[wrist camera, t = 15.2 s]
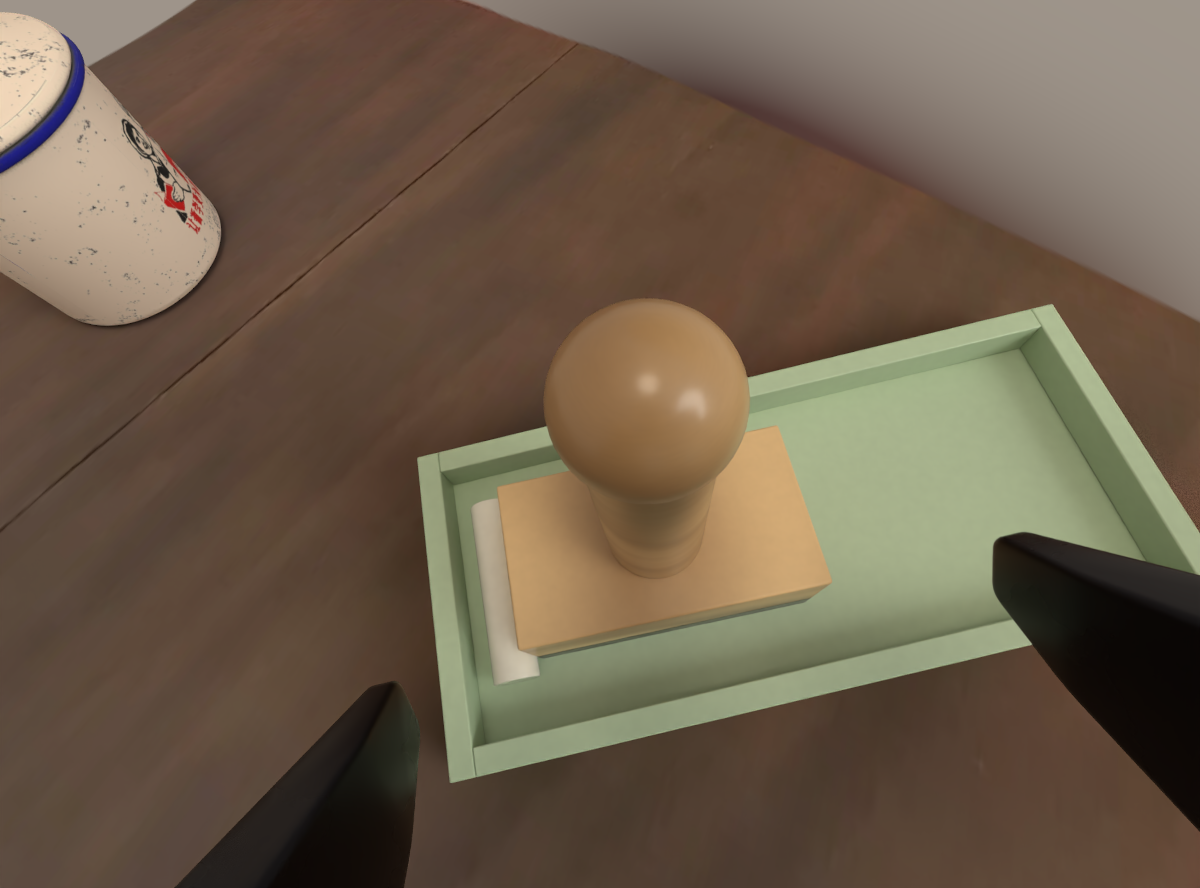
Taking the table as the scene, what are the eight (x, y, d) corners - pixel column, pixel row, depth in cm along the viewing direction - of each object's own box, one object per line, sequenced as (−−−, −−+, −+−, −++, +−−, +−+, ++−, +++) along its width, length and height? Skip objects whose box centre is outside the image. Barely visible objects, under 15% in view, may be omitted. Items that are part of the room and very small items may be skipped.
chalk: (519, 504, 22) (484, 516, 23) (499, 494, 21) (462, 507, 21) (548, 675, 20) (508, 685, 20) (527, 676, 18) (484, 687, 19)
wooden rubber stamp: (761, 465, 22) (887, 152, 9) (806, 602, 20) (1041, 436, 7) (521, 517, 22) (331, 279, 10) (541, 659, 20) (336, 590, 8)
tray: (1018, 338, 24) (1052, 303, 22) (1179, 606, 20) (1240, 595, 17) (438, 478, 24) (416, 457, 22) (472, 774, 20) (448, 783, 18)
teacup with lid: (264, 242, 30) (42, -12, 19) (109, 367, 28) (-238, 161, 17) (145, 141, 34) (-95, -115, 23) (1, 245, 32) (-335, 14, 21)
